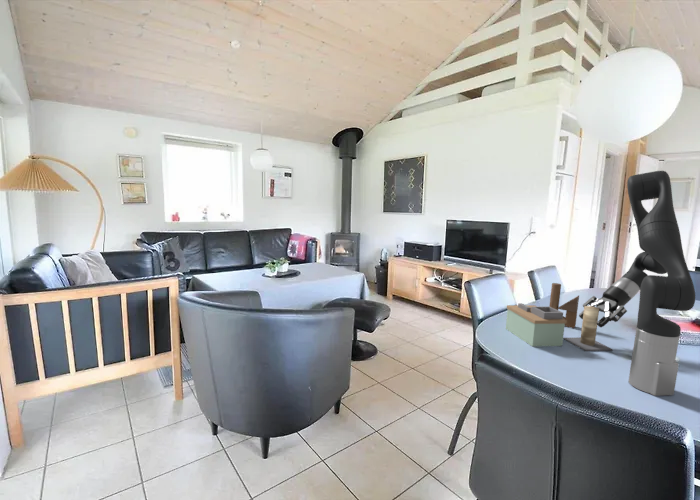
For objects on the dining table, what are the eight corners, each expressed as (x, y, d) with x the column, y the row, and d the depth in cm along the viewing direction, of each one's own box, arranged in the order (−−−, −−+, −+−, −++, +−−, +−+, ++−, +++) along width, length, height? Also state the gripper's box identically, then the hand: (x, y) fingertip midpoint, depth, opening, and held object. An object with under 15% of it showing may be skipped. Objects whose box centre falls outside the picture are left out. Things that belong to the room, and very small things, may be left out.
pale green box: (564, 346, 128) (568, 313, 126) (532, 346, 126) (535, 314, 125) (533, 328, 146) (536, 299, 144) (504, 328, 145) (507, 299, 143)
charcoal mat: (612, 350, 125) (612, 349, 125) (584, 351, 124) (585, 349, 124) (588, 338, 136) (588, 337, 136) (563, 339, 135) (563, 337, 135)
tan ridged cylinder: (597, 345, 128) (602, 309, 126) (586, 345, 127) (590, 309, 125) (588, 340, 132) (592, 305, 130) (577, 340, 132) (581, 306, 130)
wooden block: (573, 328, 147) (578, 288, 145) (546, 322, 155) (550, 283, 152) (575, 326, 150) (580, 286, 148) (548, 320, 157) (552, 282, 155)
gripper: (600, 281, 135) (569, 309, 135) (633, 290, 121) (599, 321, 121) (610, 294, 136) (580, 321, 136) (644, 304, 122) (610, 335, 122)
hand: (589, 321), depth 129 cm, fingers open, 8 cm apart
